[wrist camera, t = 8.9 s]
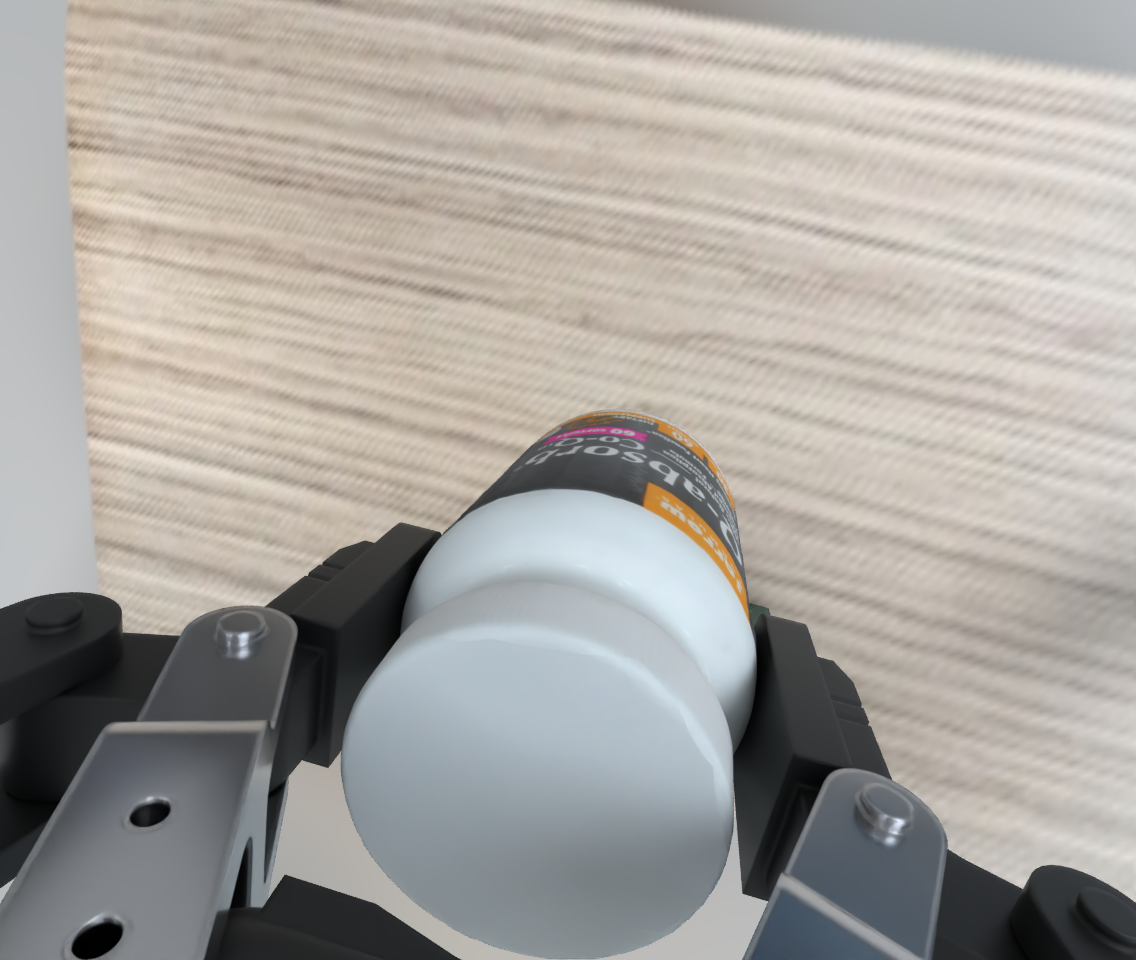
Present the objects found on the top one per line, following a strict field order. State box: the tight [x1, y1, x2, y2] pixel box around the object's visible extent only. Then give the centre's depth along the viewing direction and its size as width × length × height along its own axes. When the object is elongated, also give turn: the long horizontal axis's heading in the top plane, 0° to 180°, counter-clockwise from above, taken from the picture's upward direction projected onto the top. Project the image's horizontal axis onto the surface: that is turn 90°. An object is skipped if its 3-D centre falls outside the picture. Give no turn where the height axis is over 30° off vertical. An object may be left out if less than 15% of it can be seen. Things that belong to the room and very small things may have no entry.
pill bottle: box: [341, 410, 757, 959], centre depth 12 cm, size 6×6×10 cm
